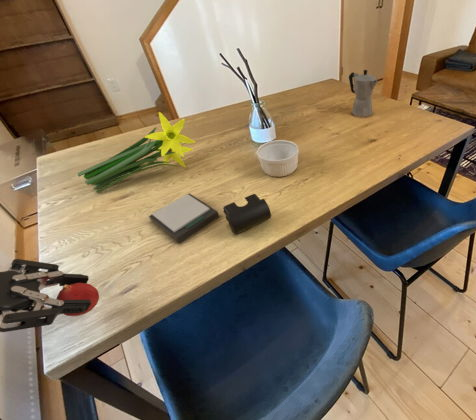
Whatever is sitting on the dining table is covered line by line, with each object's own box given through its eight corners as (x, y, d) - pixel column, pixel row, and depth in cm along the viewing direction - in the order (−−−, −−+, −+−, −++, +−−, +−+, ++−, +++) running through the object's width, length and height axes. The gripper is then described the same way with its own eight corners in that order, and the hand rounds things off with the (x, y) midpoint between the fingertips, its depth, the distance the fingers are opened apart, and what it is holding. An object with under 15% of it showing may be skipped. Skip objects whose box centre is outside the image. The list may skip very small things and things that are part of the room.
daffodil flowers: (101, 172, 93) (196, 125, 97) (117, 208, 90) (214, 159, 94) (54, 151, 76) (171, 96, 80) (72, 195, 74) (192, 136, 78)
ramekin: (270, 155, 98) (267, 137, 93) (305, 160, 95) (304, 142, 91) (253, 176, 88) (249, 157, 84) (292, 182, 86) (290, 163, 81)
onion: (73, 330, 50) (43, 308, 45) (70, 307, 54) (41, 284, 48) (109, 311, 53) (85, 288, 48) (104, 290, 56) (81, 267, 51)
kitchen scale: (179, 243, 68) (175, 236, 66) (152, 221, 74) (147, 214, 72) (219, 216, 75) (216, 209, 73) (191, 198, 81) (188, 191, 79)
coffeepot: (380, 114, 122) (385, 70, 110) (366, 120, 118) (370, 76, 106) (354, 104, 131) (357, 63, 119) (340, 110, 126) (342, 67, 114)
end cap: (237, 241, 68) (231, 221, 64) (226, 224, 72) (220, 205, 68) (273, 223, 73) (269, 204, 68) (261, 209, 77) (256, 190, 72)
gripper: (-70, 310, 33) (100, 306, 46) (-44, 239, 42) (93, 252, 55) (-89, 355, 34) (81, 338, 48) (-60, 277, 43) (78, 281, 56)
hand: (87, 292), depth 51 cm, fingers closed on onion, 5 cm apart
